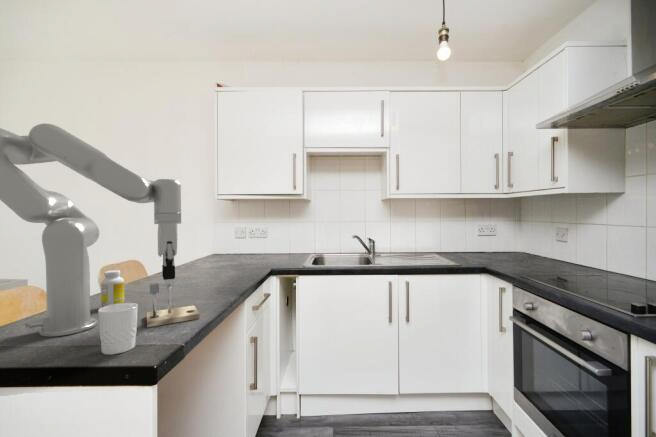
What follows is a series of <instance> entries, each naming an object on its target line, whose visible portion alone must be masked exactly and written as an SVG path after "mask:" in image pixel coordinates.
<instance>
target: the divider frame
mask: <svg viewBox="0 0 656 437" xmlns="http://www.w3.org/2000/svg"><path fill="white" fill-rule="evenodd" d="M194 286H197V281H196V280H193V281H186V282H184V281H183V282H175V284H171V289H176V288H187V287H194ZM148 287H149V294H150V295H151V294H152V311H153V316H156V311H157V294H158V293H160V290H168V284H167V285H164V284H159V282H157V283H156V282H154V283H149V286H148Z"/></svg>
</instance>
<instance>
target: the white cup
mask: <svg viewBox="0 0 656 437" xmlns="http://www.w3.org/2000/svg"><path fill="white" fill-rule="evenodd" d="M138 307H139V304H138V303H135V302H124V303H119V304H113V305H108V306H105V307H102V306H101V307H100V308H99V309H97V313H98V329H99V340H100V346H101V347H100V348H101V353H102V354H104V355H116V354H117V355H118V354H122V353H125V352H128V351H130V350H133V349H134V348H135V347H136V338H137V330H138V329H137V328H138V310H139V308H138Z"/></svg>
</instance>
